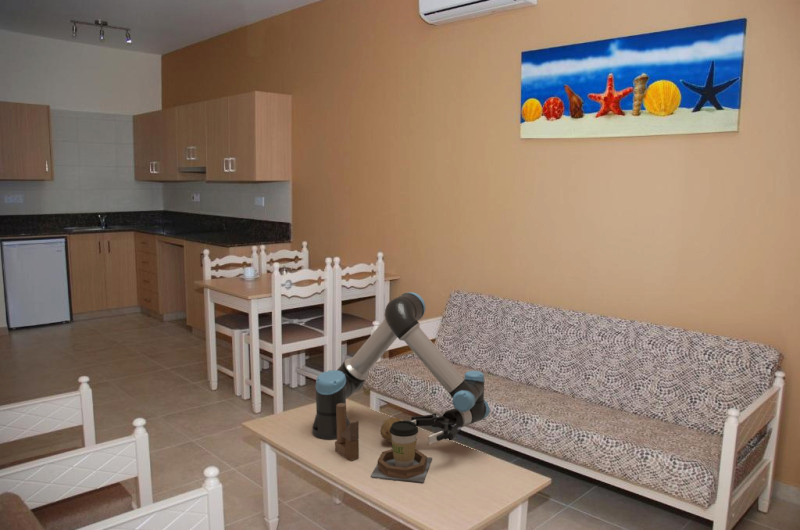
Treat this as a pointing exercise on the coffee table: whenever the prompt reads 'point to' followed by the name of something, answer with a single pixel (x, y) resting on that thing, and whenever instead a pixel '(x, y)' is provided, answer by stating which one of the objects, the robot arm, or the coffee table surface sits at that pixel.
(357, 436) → the wooden block
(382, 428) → the brown round lump
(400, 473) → the cup collar
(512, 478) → the coffee table surface
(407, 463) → the coffee cup
